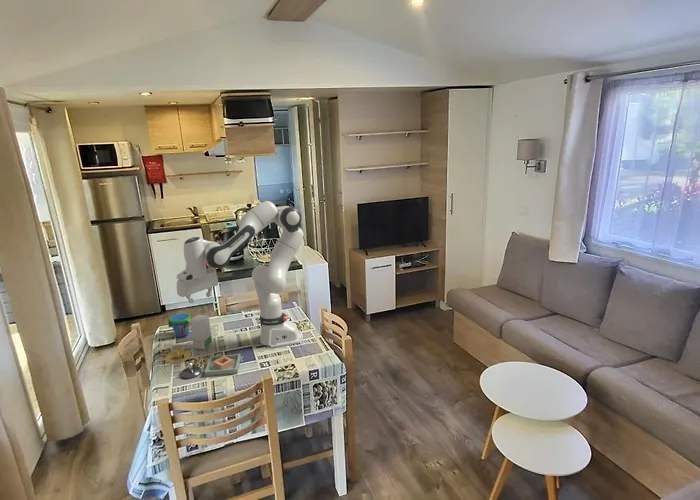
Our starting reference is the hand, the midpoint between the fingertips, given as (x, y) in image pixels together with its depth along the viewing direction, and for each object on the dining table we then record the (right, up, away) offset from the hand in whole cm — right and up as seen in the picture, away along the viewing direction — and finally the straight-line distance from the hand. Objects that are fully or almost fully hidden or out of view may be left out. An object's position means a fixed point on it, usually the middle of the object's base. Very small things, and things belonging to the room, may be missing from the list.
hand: (200, 299), depth 204 cm
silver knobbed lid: (-1, -33, -9) cm, 34 cm away
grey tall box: (-4, -26, +17) cm, 31 cm away
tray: (+13, -31, -4) cm, 34 cm away
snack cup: (-20, -23, +31) cm, 43 cm away
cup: (-13, -29, +6) cm, 33 cm away
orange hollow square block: (+13, -30, -5) cm, 33 cm away
